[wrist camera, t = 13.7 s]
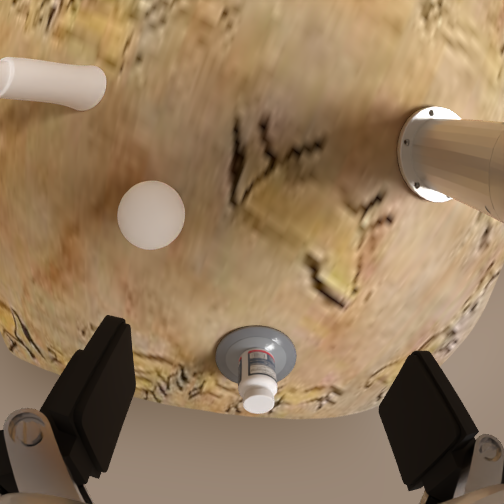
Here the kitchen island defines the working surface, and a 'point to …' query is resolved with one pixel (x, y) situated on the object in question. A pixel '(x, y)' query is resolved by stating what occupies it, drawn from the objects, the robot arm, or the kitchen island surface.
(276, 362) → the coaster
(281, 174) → the kitchen island surface
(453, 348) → the kitchen island surface
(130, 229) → the light bulb
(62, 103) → the cosmetic bottle
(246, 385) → the pill bottle
